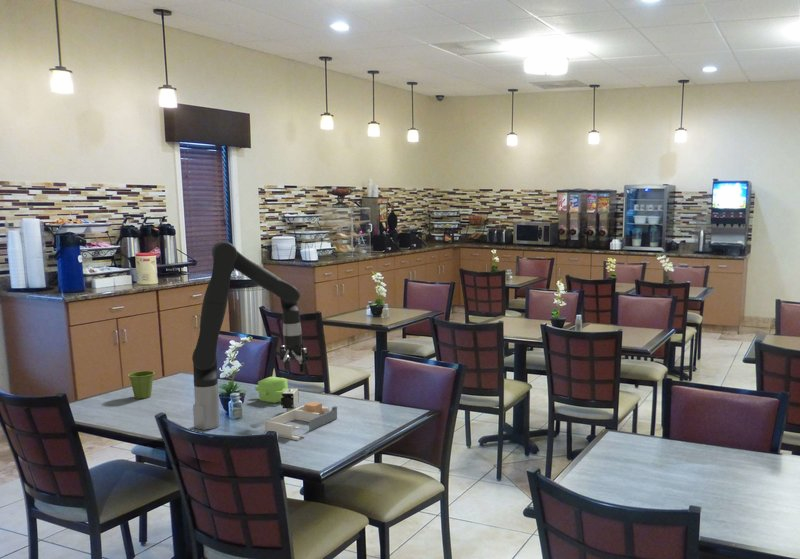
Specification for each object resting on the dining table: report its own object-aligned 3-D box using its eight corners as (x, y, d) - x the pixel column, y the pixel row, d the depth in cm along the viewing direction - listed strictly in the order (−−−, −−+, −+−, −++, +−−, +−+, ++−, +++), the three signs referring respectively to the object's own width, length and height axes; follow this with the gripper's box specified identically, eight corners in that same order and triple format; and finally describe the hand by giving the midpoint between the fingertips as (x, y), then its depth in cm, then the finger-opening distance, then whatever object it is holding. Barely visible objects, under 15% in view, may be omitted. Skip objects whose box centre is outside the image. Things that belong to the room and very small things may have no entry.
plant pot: (161, 394, 326) (159, 371, 324) (146, 401, 314) (145, 377, 313) (139, 393, 328) (137, 370, 327) (123, 400, 317) (122, 376, 316)
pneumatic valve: (299, 412, 293) (299, 384, 292) (293, 420, 282) (292, 392, 281) (287, 411, 294) (286, 384, 293) (279, 420, 282) (278, 392, 281)
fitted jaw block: (314, 420, 277) (314, 406, 277) (305, 418, 280) (304, 404, 279) (322, 417, 281) (321, 403, 281) (312, 415, 284) (312, 401, 283)
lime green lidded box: (249, 400, 314) (247, 380, 313) (265, 394, 322) (263, 374, 321) (277, 405, 304) (275, 385, 303) (293, 399, 312) (291, 379, 311)
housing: (298, 440, 258) (297, 427, 257) (265, 433, 266) (264, 421, 266) (339, 421, 280) (338, 409, 279) (307, 415, 288) (306, 403, 288)
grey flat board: (311, 430, 265) (310, 417, 264) (308, 430, 266) (308, 417, 265) (337, 418, 279) (337, 406, 279) (335, 418, 280) (334, 406, 279)
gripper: (273, 333, 286) (276, 371, 288) (298, 336, 278) (301, 375, 280) (286, 330, 292) (289, 367, 294) (311, 332, 284) (313, 371, 286)
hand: (294, 371), depth 287 cm, fingers open, 8 cm apart
